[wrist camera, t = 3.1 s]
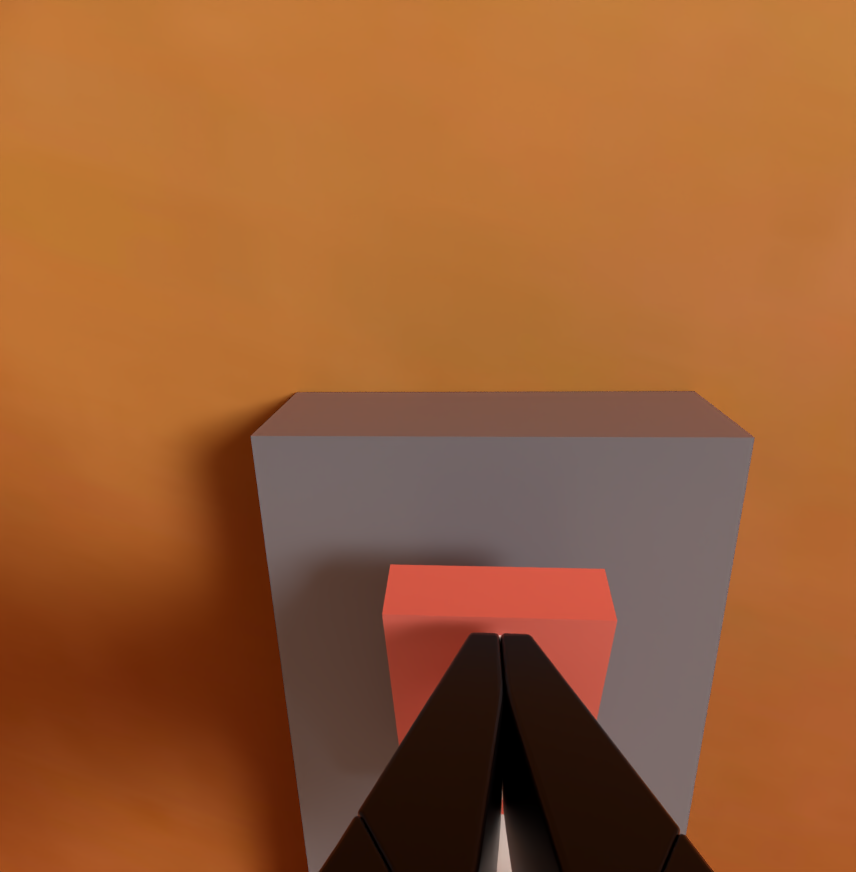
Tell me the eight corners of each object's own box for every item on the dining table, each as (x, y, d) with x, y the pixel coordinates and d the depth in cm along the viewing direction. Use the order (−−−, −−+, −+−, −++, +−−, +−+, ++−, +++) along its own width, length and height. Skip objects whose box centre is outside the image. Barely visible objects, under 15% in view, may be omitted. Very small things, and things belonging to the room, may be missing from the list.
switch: (569, 767, 13) (577, 822, 12) (411, 759, 13) (406, 812, 12) (604, 568, 9) (618, 624, 8) (390, 564, 10) (381, 618, 9)
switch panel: (606, 1054, 22) (630, 1208, 18) (362, 1033, 22) (342, 1178, 19) (694, 391, 13) (771, 450, 10) (296, 392, 14) (237, 447, 10)
